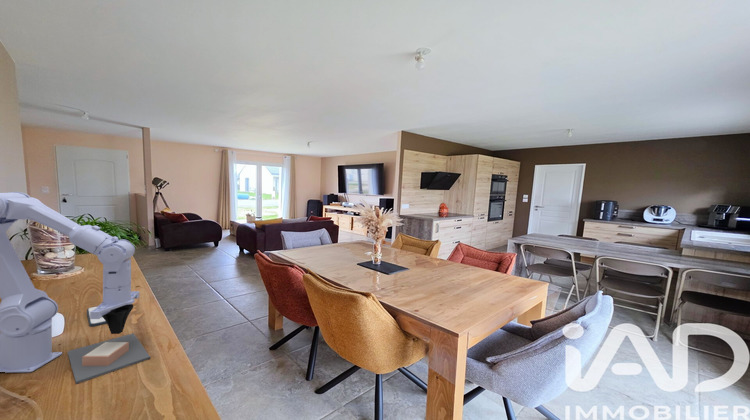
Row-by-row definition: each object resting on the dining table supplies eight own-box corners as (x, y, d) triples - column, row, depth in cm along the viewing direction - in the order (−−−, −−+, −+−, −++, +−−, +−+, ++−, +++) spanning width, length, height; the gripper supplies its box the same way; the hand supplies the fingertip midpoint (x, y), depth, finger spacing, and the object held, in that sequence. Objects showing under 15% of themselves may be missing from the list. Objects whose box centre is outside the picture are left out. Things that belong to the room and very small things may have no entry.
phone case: (125, 321, 97) (119, 306, 108) (125, 317, 97) (119, 301, 108) (89, 329, 91) (86, 312, 101) (89, 325, 91) (86, 308, 101)
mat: (150, 358, 77) (150, 356, 77) (76, 384, 66) (76, 381, 66) (133, 334, 88) (133, 333, 88) (67, 353, 77) (67, 351, 77)
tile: (105, 350, 79) (82, 365, 72) (105, 341, 78) (82, 356, 71) (128, 350, 79) (108, 365, 72) (128, 341, 79) (108, 356, 72)
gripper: (112, 295, 71) (111, 347, 72) (150, 277, 85) (150, 320, 86) (80, 294, 70) (80, 347, 71) (125, 276, 84) (124, 320, 85)
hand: (116, 332), depth 78 cm, fingers closed
